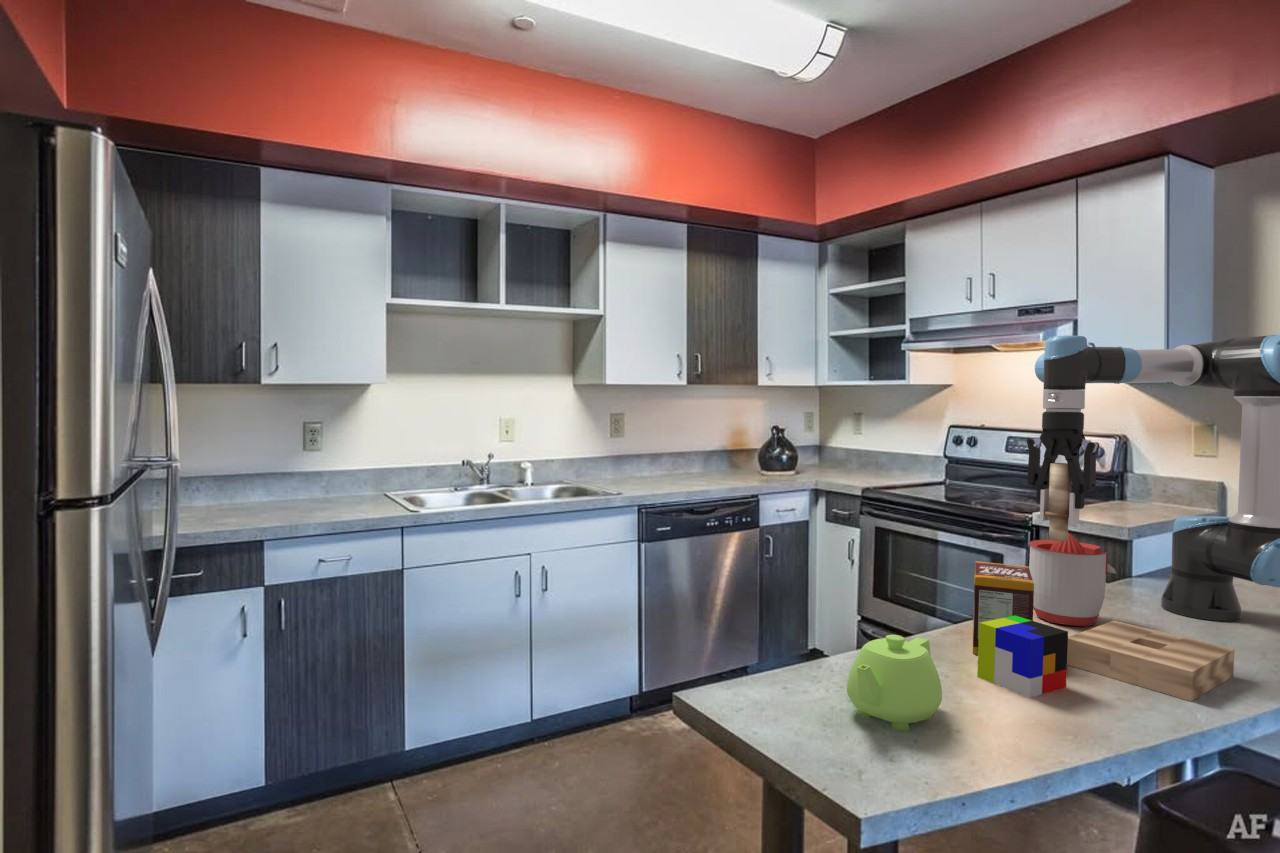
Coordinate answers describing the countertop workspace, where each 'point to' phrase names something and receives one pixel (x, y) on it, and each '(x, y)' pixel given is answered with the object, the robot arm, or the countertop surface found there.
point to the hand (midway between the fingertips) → (1059, 521)
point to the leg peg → (1059, 501)
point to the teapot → (895, 681)
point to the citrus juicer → (1068, 580)
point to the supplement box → (1001, 594)
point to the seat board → (1151, 659)
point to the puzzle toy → (1022, 655)
